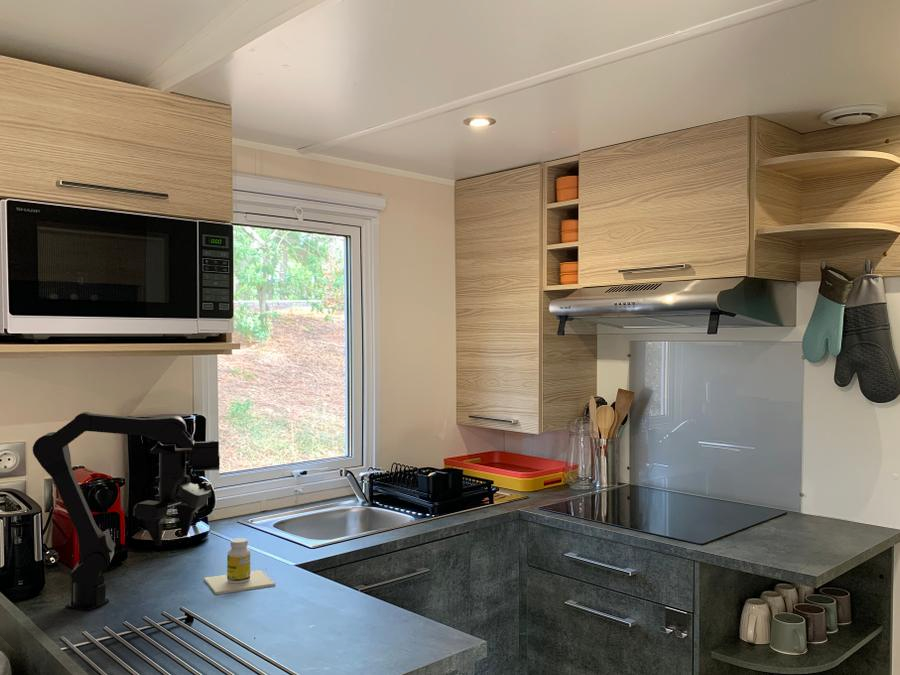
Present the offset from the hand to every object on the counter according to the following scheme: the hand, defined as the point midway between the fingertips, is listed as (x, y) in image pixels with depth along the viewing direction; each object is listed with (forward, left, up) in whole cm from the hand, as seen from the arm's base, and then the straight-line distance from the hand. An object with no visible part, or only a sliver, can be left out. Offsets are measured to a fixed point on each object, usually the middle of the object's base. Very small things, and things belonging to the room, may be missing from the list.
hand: (171, 540), depth 173 cm
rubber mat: (+8, +15, -13) cm, 21 cm away
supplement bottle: (+8, +15, -13) cm, 21 cm away
